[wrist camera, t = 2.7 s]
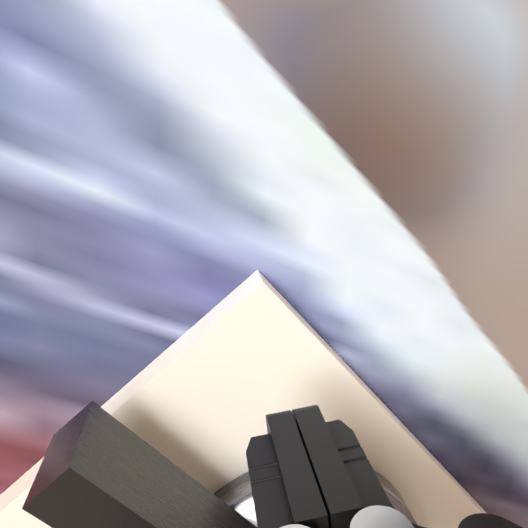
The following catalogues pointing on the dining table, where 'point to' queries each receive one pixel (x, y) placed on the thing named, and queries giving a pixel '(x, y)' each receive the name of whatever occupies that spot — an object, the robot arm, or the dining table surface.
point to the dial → (134, 484)
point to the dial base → (261, 406)
